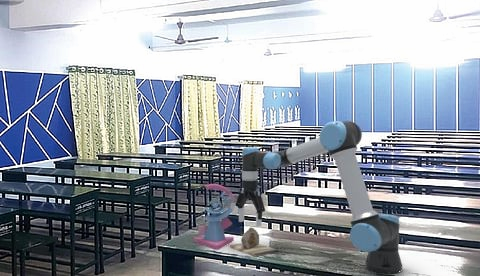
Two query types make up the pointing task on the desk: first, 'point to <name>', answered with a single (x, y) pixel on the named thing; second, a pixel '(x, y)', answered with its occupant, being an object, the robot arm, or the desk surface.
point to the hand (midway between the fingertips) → (249, 223)
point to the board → (254, 249)
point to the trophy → (216, 221)
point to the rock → (250, 238)
